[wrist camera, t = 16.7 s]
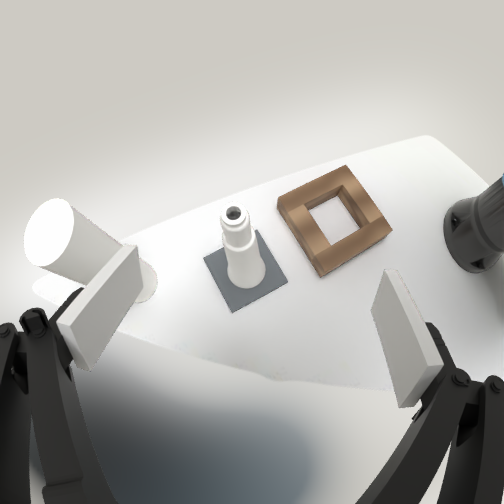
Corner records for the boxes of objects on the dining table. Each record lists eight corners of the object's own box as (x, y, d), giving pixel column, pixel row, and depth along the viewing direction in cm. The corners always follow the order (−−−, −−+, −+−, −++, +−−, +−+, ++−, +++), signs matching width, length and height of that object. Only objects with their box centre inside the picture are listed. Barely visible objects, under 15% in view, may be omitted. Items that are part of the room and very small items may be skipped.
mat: (287, 282, 47) (288, 281, 46) (232, 312, 46) (231, 312, 45) (257, 230, 50) (257, 229, 49) (204, 259, 48) (203, 258, 48)
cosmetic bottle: (228, 251, 48) (203, 183, 27) (266, 252, 48) (268, 184, 27) (226, 287, 46) (196, 244, 25) (264, 289, 46) (266, 246, 25)
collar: (384, 238, 48) (392, 230, 45) (320, 277, 47) (325, 272, 43) (340, 176, 52) (345, 164, 48) (276, 208, 51) (278, 197, 47)
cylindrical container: (120, 264, 49) (29, 206, 25) (156, 259, 49) (77, 191, 25) (121, 304, 47) (21, 269, 23) (158, 300, 47) (70, 261, 23)
